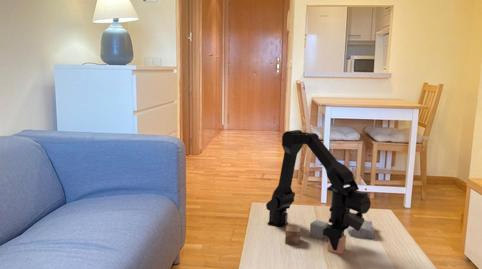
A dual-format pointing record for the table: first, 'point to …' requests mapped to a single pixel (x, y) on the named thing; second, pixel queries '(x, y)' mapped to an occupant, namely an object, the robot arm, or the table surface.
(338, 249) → the terracotta cube
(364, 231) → the stone block
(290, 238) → the walnut cube
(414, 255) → the table surface
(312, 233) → the slate grey cube
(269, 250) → the table surface
